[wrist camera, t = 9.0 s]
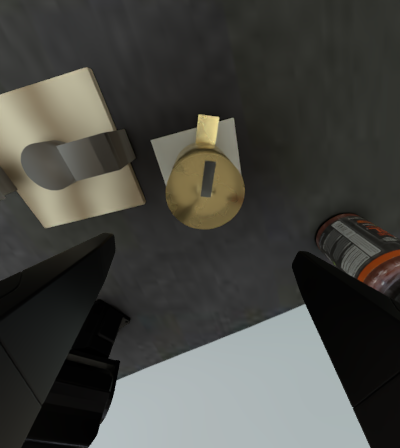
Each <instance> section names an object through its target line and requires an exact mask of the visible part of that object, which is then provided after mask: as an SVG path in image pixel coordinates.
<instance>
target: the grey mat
mask: <svg viewBox="0 0 400 448" xmlns="http://www.w3.org/2000/svg"><path fill="white" fill-rule="evenodd" d="M196 133H197V128H193V129H190V130H186V131H182V132H179V133H175V134H171V135H168V136H164V137H160V138H157V139H153V140H151V143H152V146H153V149H154V152H155V155H156V158H157V161H158V164H159V167H160V170H161V173H162V176H163V178H164V181H165V184H166V185H167V181H168V179H169V176H170V174H171V171H172V169H173V166H174V164H175V161H176V158H177V156H178V155H179V153H180V152H181V151H182V150H183V149H184V148H185V147H186V146H188V145H190V144H192V143H196ZM215 146H217V147H218V148H219V149H220V150H221V151H222V152H223V153H224V154H225V155H226V156H227V158H228V159H229V160H230V161H231V162H232V163H233V164H234V166H235V167H236V168H237V169H238V171H239V172H240V174H241V169H240V161H239V154H238V146H237V139H236V131H235V124H234V118H230V119H226V120H223V121H219V123H218V130H217V136H216V143H215Z"/></svg>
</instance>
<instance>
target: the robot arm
mask: <svg viewBox="0 0 400 448" xmlns="http://www.w3.org/2000/svg"><path fill="white" fill-rule="evenodd" d="M114 254H115V239H114V235H113V234H111V233H102V234H100V235H98V236H96V237H94V238H92V239H90V240H87V241H85V242H83V243H81V244H79V245H77V246H75V247H72V248H70V249H68V250H66V251H64V252H62V253H60V254H57V255H55V256H53V257H51V258H49V259H47V260H45V261H42V262H40V263H38V264H36V265H34V266H32V267H30V268H27V269H25V270H23V271H22V272H19V273H17V274H14V275H12V276H10V277H8V278H6V279H4V280H1V281H0V448H88V447H89V446H90V444H91V443H92V442H93V440H94V439H95V437H96V436H97V433H98V430H99V426H100V424H101V423H102V421H103V420H104V418H105V416H106V414H107V412H108V410H109V407H110V405H111V402H112V398H113V395H114V391H115V385H116V380H117V375H118V370H119V364H120V361H119V360H112V359H108V357H109V355H110V352H111V349H112V346H113V343H114V342H115V339H116V336H117V333H118V330H119V329H120V328H122V327H124V326H125V325H127V324H129V323H130V318H128V317H126V316H125V315H123V314H122V313H120V312H118V311H117V310H115V309H114V308H112V307H110V306H109V305H107V304H106V303H104V302H103V301H100V300H98V301H96V302H95V300H96V298H97V296H98V294H99V292H100V290H101V288H102V286H103V284H104V281H105V279H106V276H107V273H108V271H109V268H110V265H111V262H112V260H113V257H114ZM292 269H293V272H294V275H295V278H296V281H297V284H298V287H299V290H300V293H301V295H302V298H303V300H304V302H305V304H306V307H307V309H308V311H309V313H310V315H311V317H312V320H313V322H314V324H315V326H316V328H317V331H318V333H319V335H320V337H321V339H322V342H323V344H324V346H325V348H326V350H327V353H328V355H329V357H330V359H331V361H332V363H333V366H334V368H335V370H336V372H337V375H338V377H339V379H340V381H341V383H342V386H343V388H344V390H345V392H346V394H347V397H348V399H349V401H350V403H351V405H352V407H353V410H354V412H355V414H356V417H357V419H358V421H359V423H360V425H361V427H362V430H363V432H364V434H365V436H366V439H367V441H368V443H369V445H370V447H371V448H400V303H399V302H397V301H395V300H394V299H392V298H389V297H388V296H386V295H385V294H383V293H381V292H379V291H377V290H376V289H374V288H372V287H370V286H368V285H367V284H365V283H363V282H361V281H359V280H358V279H356V278H354V277H352V276H350V275H349V274H347V273H345V272H343V271H341V270H340V269H338V268H336V267H334V266H332V265H331V264H329V263H327V262H325V261H324V260H322V259H320V258H318V257H316V256H315V255H313V254H311V253H309V252H306V251H299V252H298V253H297V255H296V257H295V259H294V261H293V263H292ZM94 302H95V303H94Z"/></svg>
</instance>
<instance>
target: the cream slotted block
mask: <svg viewBox="0 0 400 448" xmlns="http://www.w3.org/2000/svg"><path fill="white" fill-rule="evenodd" d="M134 159H136V157H135V154H134V152H133V149H132V147H131V144H130V142H129V139H128V136H127V134H126V131H125V129H122V130H116V127H115V125H114V122H113V120H112V117H111V115H110V113H109V110H108V108H107V105H106V103H105V100H104V98H103V96H102V93H101V91H100V88H99V86H98V83H97V81H96V79H95V76H94V74H93V71H92V69H90V68H88V67H86V68H83V69H79V70H76V71H73V72H70V73H67V74H64V75H60V76H57V77H54V78H51V79H48V80H45V81H42V82H38V83H35V84H32V85H29V86H26V87H23V88H20V89H16V90H13V91H10V92H7V93H4V94H1V95H0V201H1V200H4V199H6V198H5V197H4V195H6V194H9V193H11V192H14V191H16V190H17V192H18V193H19V194H20V196H21V197H22V198H23V200H24V201H25V202H26V204H27V205H28V206H29V208H30V209H31V210H32V212H33V213H34V214H35V216H36V217H37V218H38V219H39V221H40V222H41V223H42V225H43V226H44V227H45V228H49V227H53V226H57V225H61V224H65V223H70V222H74V221H78V220H82V219H86V218H90V217H94V216H98V215H102V214H107V213H111V212H115V211H119V210H123V209H127V208H131V207H135V206H140V205H144V204H145V203H146V200H145V197H144V195H143V193H142V190H141V188H140V185H139V183H138V180H137V178H136V176H135V173H134V171H133V168H132V166H131V163H130V162H132V161H133V160H134Z"/></svg>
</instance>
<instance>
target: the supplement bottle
mask: <svg viewBox="0 0 400 448" xmlns="http://www.w3.org/2000/svg"><path fill="white" fill-rule="evenodd" d="M316 243H317V246H318V247H319V249H320V250H321V251H322V252H323V253H324V254H325V255H326V257H328V259H329V260H330V261H331V262H332V263H333V264H334V265H335V266H336V267H337V268H338V269H340V270H341V271H343V272H345V273H347V274H349V275H350V276H352V277H354V278H356V279H358V280H359V281H361V282H363V283H365V284H367V285H368V286H370V287H372V288H374V289H376V290H377V291H379V292H381V293H383V294H385V295H386V296H388V297H389V298H392V299H394V300H395V301H397V302H399V303H400V239H398V238H396V237H394V236H393V235H391V234H389V233H388V232H386V231H384V230H383V229H381V228H379V227H378V226H376V225H374V224H372V223H371V222H369V221H368V220H366V219H364V218H362V217H360V216H358V215H355V214H341V215H338V216H335V217H333V218H331V219H329V220H328V221H327V222H325V223H324V224H323V225H322V226H321V228H320V229H319V231H318V233H317V236H316Z"/></svg>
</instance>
